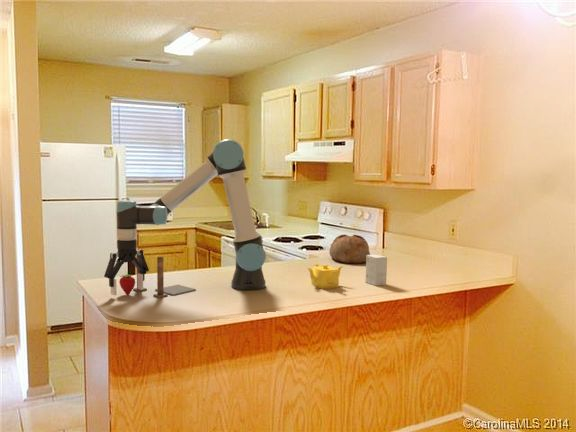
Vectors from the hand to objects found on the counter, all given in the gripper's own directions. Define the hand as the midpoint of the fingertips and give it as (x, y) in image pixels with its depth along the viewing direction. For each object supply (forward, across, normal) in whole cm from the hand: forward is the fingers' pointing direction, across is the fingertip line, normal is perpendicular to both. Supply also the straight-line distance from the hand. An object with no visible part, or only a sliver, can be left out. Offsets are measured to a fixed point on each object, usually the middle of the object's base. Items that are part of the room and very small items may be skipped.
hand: (127, 291), depth 203 cm
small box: (+1, -90, +64) cm, 110 cm away
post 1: (+1, -8, -3) cm, 9 cm away
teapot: (+2, -70, +49) cm, 85 cm away
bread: (+2, -133, +23) cm, 135 cm away
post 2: (+1, -8, +11) cm, 14 cm away
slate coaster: (+1, -18, +8) cm, 20 cm away
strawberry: (+2, 0, 0) cm, 2 cm away
